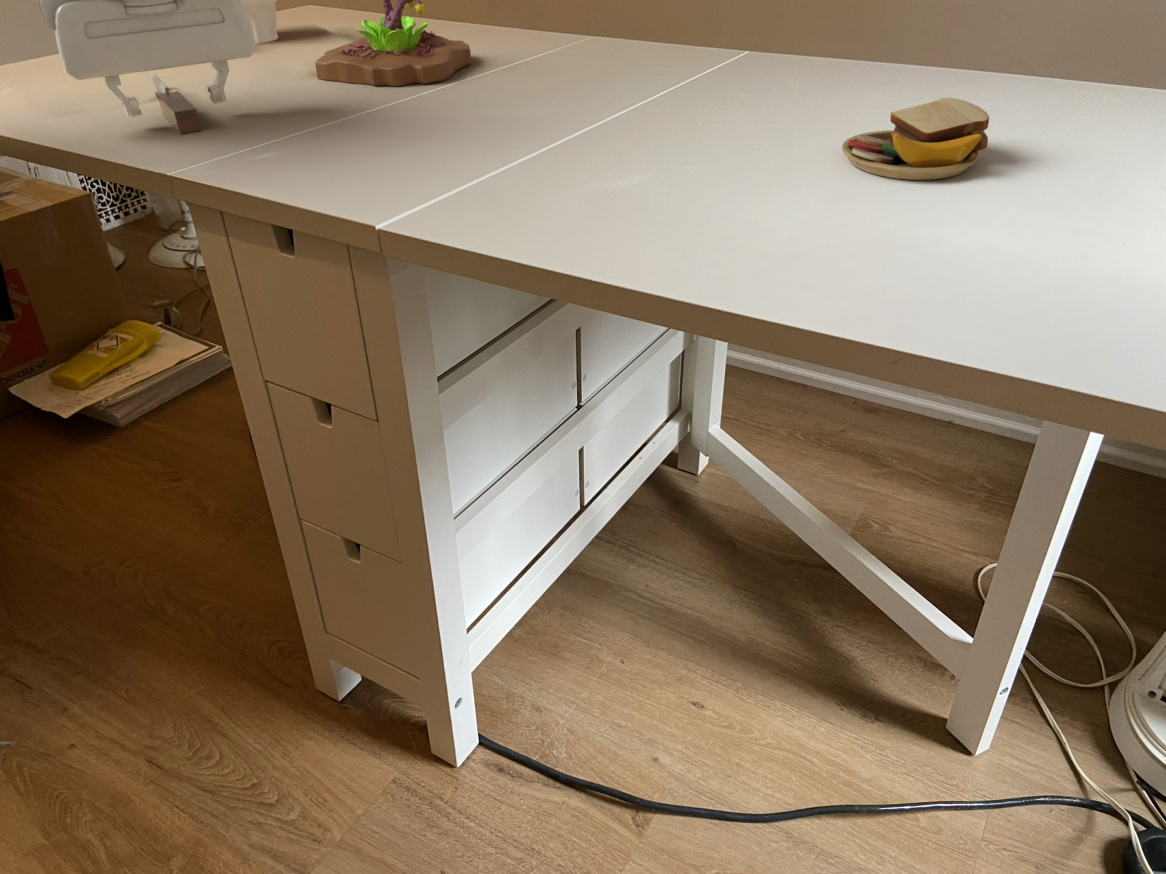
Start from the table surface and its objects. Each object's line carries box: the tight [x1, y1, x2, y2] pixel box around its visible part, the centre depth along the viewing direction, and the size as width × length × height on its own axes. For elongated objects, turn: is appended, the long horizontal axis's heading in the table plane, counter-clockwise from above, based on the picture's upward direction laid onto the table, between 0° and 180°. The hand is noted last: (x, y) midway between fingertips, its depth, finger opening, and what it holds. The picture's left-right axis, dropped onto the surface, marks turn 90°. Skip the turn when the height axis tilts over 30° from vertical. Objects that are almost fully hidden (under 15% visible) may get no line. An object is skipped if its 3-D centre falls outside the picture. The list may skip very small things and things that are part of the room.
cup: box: [241, 0, 279, 45], centre depth 135 cm, size 12×12×11 cm
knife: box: [148, 71, 203, 135], centre depth 105 cm, size 20×2×3 cm, turn 32°
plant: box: [315, 0, 472, 87], centre depth 119 cm, size 20×20×11 cm
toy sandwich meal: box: [841, 97, 990, 181], centre depth 83 cm, size 12×14×5 cm
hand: (177, 108), depth 102 cm, fingers open, 8 cm apart
